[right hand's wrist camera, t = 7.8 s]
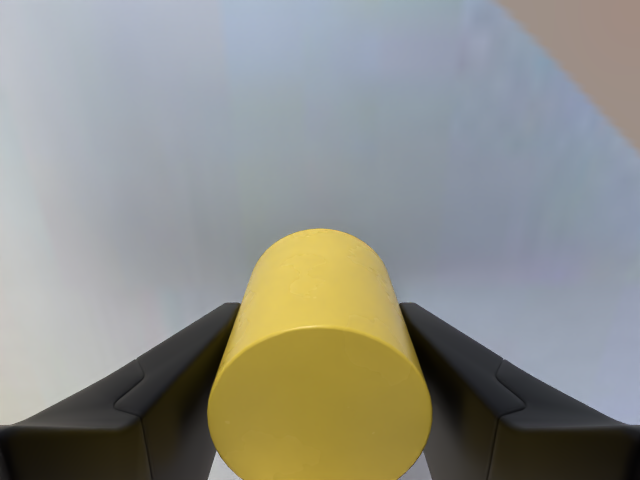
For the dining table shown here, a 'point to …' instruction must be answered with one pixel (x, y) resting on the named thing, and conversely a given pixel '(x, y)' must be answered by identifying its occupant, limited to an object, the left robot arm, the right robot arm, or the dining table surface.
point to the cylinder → (319, 369)
